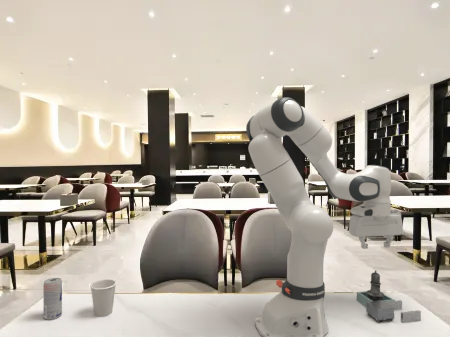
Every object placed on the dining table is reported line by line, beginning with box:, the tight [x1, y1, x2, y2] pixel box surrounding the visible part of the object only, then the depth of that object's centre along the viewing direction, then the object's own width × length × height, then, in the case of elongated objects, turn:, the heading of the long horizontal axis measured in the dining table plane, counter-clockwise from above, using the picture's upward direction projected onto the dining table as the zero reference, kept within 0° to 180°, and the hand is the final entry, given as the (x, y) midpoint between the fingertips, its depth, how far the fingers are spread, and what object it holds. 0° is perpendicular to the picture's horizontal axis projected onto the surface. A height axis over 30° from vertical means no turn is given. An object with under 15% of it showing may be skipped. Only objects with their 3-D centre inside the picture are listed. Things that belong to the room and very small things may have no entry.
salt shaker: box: [366, 270, 385, 301], centre depth 113 cm, size 6×6×12 cm
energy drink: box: [42, 277, 63, 321], centre depth 104 cm, size 5×5×12 cm
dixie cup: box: [89, 279, 117, 318], centre depth 106 cm, size 8×8×10 cm
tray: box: [356, 290, 396, 308], centre depth 114 cm, size 9×9×3 cm
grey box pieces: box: [366, 299, 422, 324], centre depth 105 cm, size 15×9×4 cm, turn 103°
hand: (375, 247), depth 113 cm, fingers open, 8 cm apart
